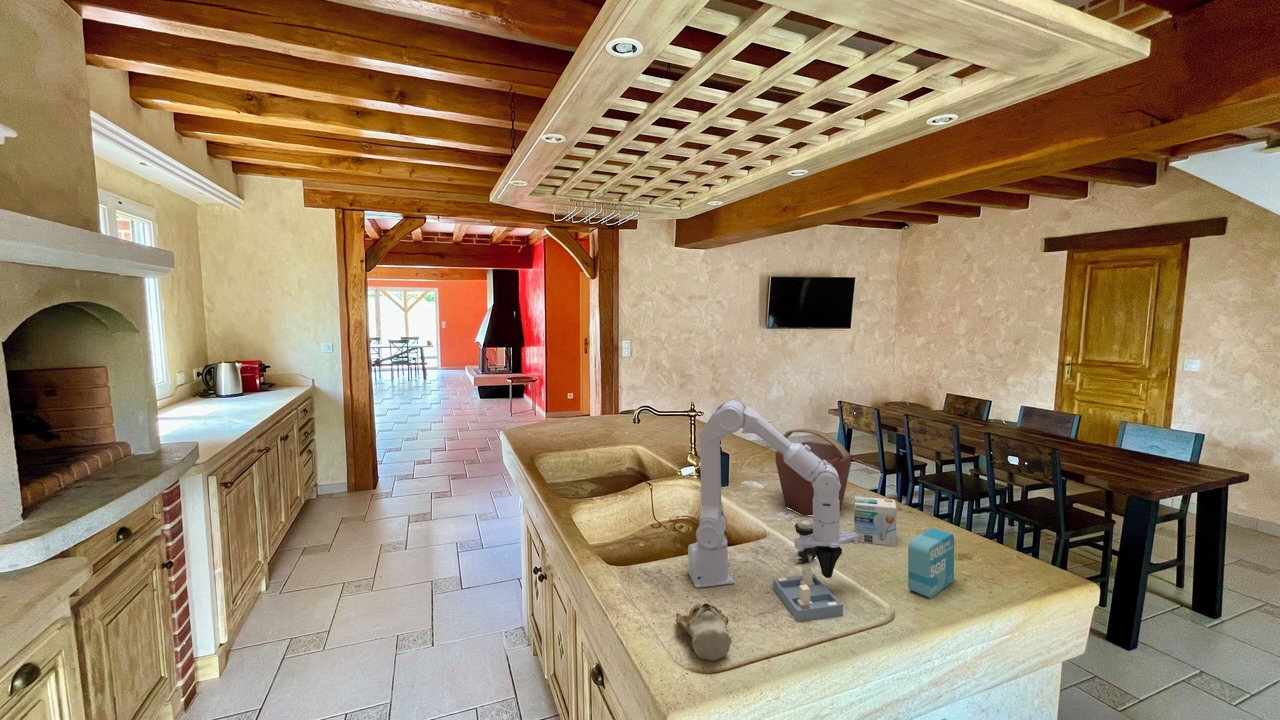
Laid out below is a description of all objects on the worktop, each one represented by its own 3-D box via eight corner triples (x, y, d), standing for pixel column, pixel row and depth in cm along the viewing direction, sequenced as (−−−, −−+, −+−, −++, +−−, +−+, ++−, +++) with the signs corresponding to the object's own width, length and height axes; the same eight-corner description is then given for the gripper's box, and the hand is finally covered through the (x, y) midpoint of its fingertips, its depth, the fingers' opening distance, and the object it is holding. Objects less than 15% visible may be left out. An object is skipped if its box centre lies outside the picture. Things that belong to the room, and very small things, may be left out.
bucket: (762, 501, 175) (760, 428, 172) (812, 489, 184) (811, 419, 181) (814, 527, 153) (813, 444, 150) (868, 512, 162) (868, 433, 159)
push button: (803, 568, 129) (803, 530, 128) (787, 560, 134) (786, 523, 133) (821, 560, 132) (821, 523, 132) (805, 553, 137) (804, 516, 136)
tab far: (804, 590, 117) (803, 572, 117) (800, 586, 119) (799, 567, 119) (814, 589, 118) (814, 570, 117) (810, 584, 119) (810, 566, 119)
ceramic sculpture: (685, 625, 94) (672, 587, 109) (687, 672, 94) (674, 627, 109) (743, 620, 95) (722, 582, 110) (744, 666, 95) (723, 622, 110)
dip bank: (797, 621, 108) (797, 610, 107) (773, 588, 120) (773, 578, 120) (842, 615, 109) (842, 604, 109) (813, 583, 122) (813, 573, 122)
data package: (928, 600, 113) (928, 547, 112) (907, 591, 117) (907, 540, 116) (954, 582, 120) (954, 532, 119) (934, 574, 124) (934, 526, 122)
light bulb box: (854, 541, 142) (853, 504, 141) (853, 531, 148) (853, 495, 147) (897, 547, 138) (897, 507, 137) (895, 536, 144) (895, 499, 143)
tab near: (801, 610, 110) (800, 590, 109) (797, 605, 112) (796, 585, 111) (812, 608, 110) (812, 589, 110) (808, 603, 112) (808, 584, 112)
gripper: (803, 529, 113) (804, 588, 114) (865, 522, 115) (866, 580, 116) (790, 516, 119) (791, 572, 121) (848, 510, 121) (849, 565, 123)
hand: (826, 575), depth 119 cm, fingers closed
